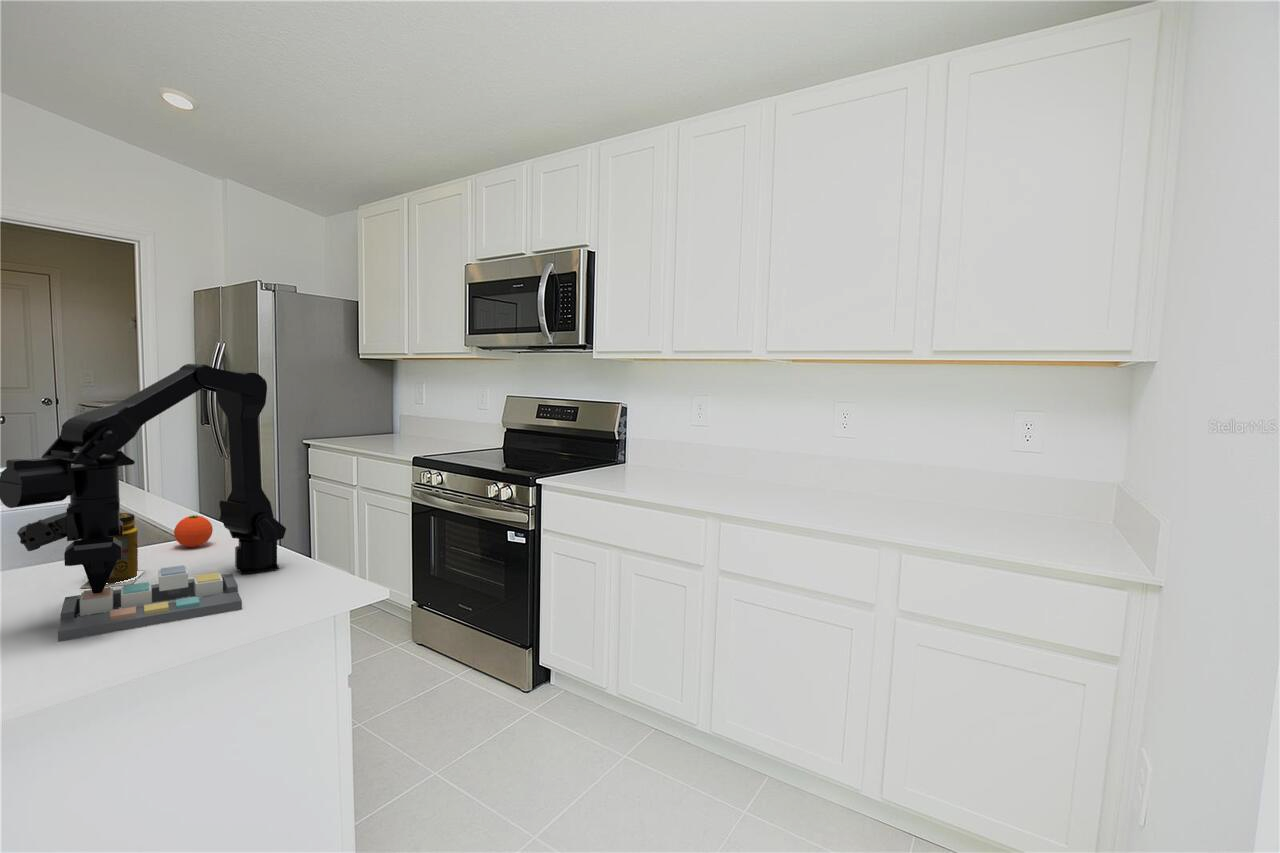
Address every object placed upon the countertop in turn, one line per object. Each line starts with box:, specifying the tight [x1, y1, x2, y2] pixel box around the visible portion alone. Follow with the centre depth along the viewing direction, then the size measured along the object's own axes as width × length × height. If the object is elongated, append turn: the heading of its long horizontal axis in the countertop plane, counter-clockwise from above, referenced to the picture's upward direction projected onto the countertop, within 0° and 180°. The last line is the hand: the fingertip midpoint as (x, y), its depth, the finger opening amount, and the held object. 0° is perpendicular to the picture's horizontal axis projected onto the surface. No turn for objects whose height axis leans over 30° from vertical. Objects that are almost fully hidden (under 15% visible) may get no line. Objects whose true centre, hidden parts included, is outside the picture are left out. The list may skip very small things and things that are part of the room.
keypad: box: [57, 572, 243, 642], centre depth 99 cm, size 22×13×2 cm, turn 130°
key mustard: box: [193, 572, 224, 598], centre depth 105 cm, size 4×4×4 cm
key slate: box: [157, 564, 189, 595], centre depth 101 cm, size 4×4×4 cm
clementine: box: [173, 514, 214, 548], centre depth 133 cm, size 8×7×7 cm
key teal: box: [120, 581, 153, 609], centre depth 98 cm, size 4×4×4 cm
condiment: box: [80, 512, 146, 589], centre depth 111 cm, size 7×8×12 cm
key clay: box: [79, 586, 114, 617], centre depth 95 cm, size 4×4×4 cm
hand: (97, 592), depth 95 cm, fingers closed, pressing on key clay
